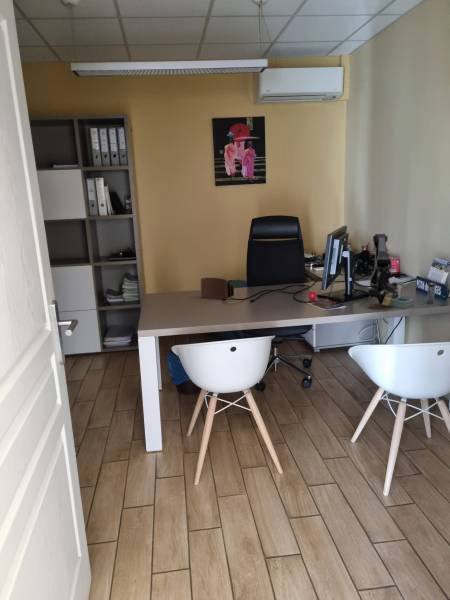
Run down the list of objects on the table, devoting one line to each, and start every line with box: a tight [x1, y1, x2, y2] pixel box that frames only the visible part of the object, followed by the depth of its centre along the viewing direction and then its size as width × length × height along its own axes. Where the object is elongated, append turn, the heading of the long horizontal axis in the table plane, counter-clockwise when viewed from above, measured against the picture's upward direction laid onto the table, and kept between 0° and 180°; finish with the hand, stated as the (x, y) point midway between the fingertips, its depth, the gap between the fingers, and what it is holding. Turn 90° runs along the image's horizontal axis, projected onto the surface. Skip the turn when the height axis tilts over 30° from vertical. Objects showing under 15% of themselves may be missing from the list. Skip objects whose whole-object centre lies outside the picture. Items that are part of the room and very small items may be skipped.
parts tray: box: [390, 296, 415, 310], centre depth 271 cm, size 9×9×4 cm
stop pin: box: [426, 282, 437, 305], centre depth 274 cm, size 4×4×12 cm
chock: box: [381, 296, 392, 306], centre depth 276 cm, size 5×4×4 cm
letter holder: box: [200, 277, 235, 301], centre depth 307 cm, size 10×20×14 cm, turn 63°
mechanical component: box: [391, 281, 410, 292], centre depth 289 cm, size 3×10×10 cm, turn 78°
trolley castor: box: [390, 284, 404, 299], centre depth 281 cm, size 5×6×10 cm
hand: (380, 303), depth 273 cm, fingers closed
